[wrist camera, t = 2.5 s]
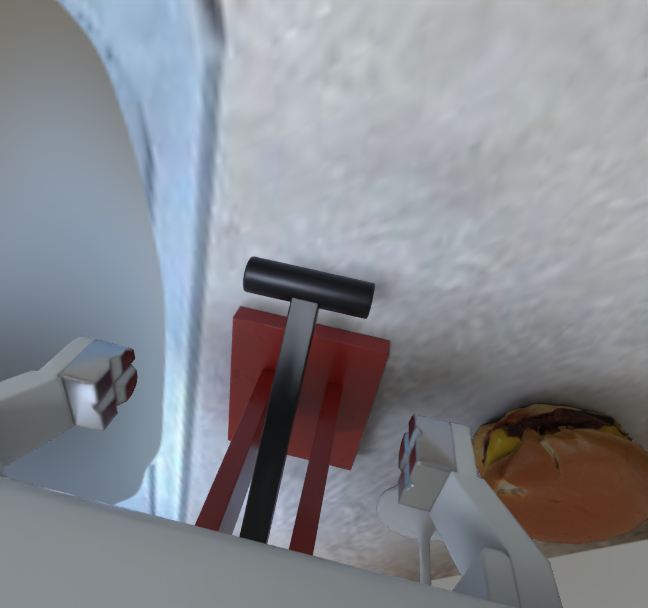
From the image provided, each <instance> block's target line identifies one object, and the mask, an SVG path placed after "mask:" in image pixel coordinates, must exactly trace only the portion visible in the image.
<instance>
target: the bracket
mask: <svg viewBox="0 0 648 608" xmlns="http://www.w3.org/2000/svg"><path fill="white" fill-rule="evenodd" d="M286 320H287V317H284V316H280V315H276V314H271V313H267V312H263V311H258V310H254V309H250V308H245V307H241V306H240V307H239V309H238V310H237V312H236V314H235V315H234V317H233V330H232V354H231V378H230V402H229V426H228V440H230V441H231V443H230V445H229V447H228V450H227V452H226V454H225V457H224V459H223V461H222V464H221V466H220V468H219V471H218V473H217V475H216V478H215V480H214V482H213V484H212V487H211V489H210V491H209V494H208V496H207V498H206V501H205V503H204V505H203V508H202V510H201V512H200V515H199V517H198V519H197V521H196V524H195V526H198V527H202V528H206V529H210V530H214V531H218V532H222V533H225V534H229V535H232V533H233V531H234V528H235V525H236V522H237V519H238V516H239V513H240V511H241V508H242V505H243V502H244V499H245V496H246V493H247V490H248V488H249V485H250V482H251V479H252V476H253V472H254V468H255V463H256V459H257V454H258V449H259V445H260V440H261V435H262V431H263V426H264V422H265V417H266V412H267V408H268V403H269V399H270V394H271V389H272V385H273V380H274V376H275V371H276V366H277V362H278V357H279V353H280V348H281V343H282V339H283V334H284V330H285V325H286ZM389 344H390V341H389V340H385V339H380V338H376V337H372V336H367V335H363V334H359V333H354V332H350V331H346V330H341V329H337V328H332V327H328V326H324V325H319V324H316V326H315V331H314V335H313V340H312V344H311V349H310V353H309V358H308V362H307V367H306V371H305V376H304V380H303V385H302V389H301V394H300V398H299V403H298V407H297V412H296V416H295V421H294V425H293V430H292V434H291V439H290V443H289V448H288V452H287V455H290V456H295V457H299V458H303V459H307V460H309V464H308V468H307V472H306V477H305V481H304V486H303V490H302V494H301V499H300V503H299V507H298V512H297V516H296V521H295V525H294V529H293V534H292V538H291V542H290V547H289V550H292V551H296V552H300V553H304V554H308V555H312V556H313V551H314V546H315V540H316V535H317V529H318V524H319V518H320V512H321V507H322V501H323V496H324V490H325V485H326V479H327V474H328V468H329V465H331V466H335V467H339V468H343V469H347V470H351V469H352V466H353V463H354V460H355V457H356V454H357V450H358V447H359V444H360V441H361V438H362V435H363V432H364V429H365V426H366V423H367V420H368V417H369V413H370V410H371V407H372V404H373V401H374V398H375V395H376V392H377V389H378V386H379V383H380V380H381V377H382V373H383V370H384V367H385V364H386V361H387V358H388V355H389Z"/></svg>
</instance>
